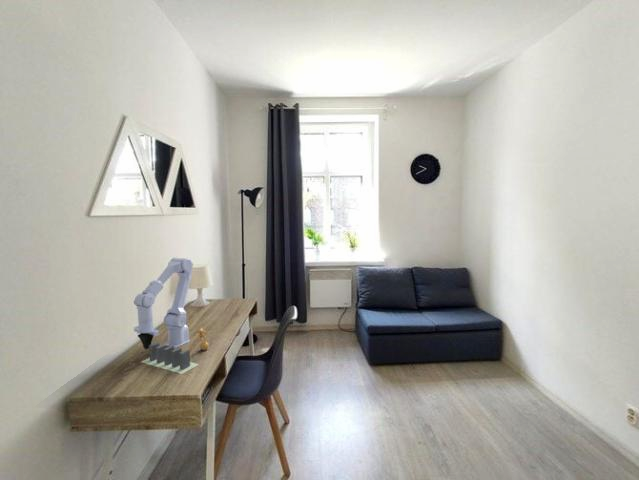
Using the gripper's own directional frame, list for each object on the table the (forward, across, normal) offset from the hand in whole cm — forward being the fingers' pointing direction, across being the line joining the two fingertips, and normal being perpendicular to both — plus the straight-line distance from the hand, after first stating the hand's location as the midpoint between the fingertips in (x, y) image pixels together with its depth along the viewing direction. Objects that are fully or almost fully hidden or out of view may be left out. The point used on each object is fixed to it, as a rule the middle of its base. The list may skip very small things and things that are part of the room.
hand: (147, 348), depth 143 cm
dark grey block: (+4, +19, 0) cm, 20 cm away
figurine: (+5, +18, +16) cm, 25 cm away
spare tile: (+4, +10, 0) cm, 11 cm away
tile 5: (+4, +24, 0) cm, 25 cm away
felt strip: (+4, +14, 0) cm, 15 cm away
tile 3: (+4, +15, 0) cm, 15 cm away
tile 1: (+4, +5, 0) cm, 7 cm away
